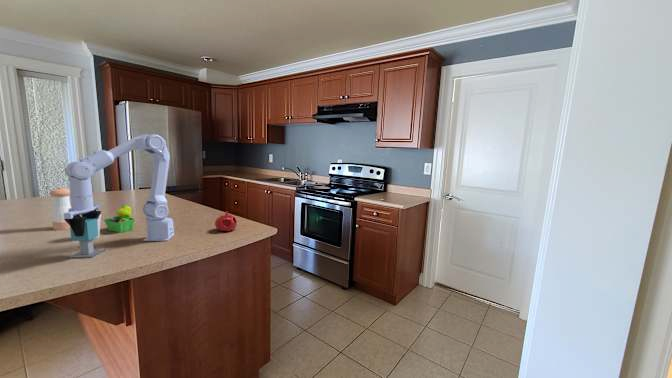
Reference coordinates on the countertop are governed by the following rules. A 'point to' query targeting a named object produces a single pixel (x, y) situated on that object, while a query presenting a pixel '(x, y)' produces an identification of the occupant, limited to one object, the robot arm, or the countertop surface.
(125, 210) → the fruit basket
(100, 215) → the smoothie
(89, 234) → the teal foam brick
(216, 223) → the pomegranate
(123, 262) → the countertop surface
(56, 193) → the salt shaker
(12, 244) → the countertop surface
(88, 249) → the grey square base plate
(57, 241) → the countertop surface
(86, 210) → the robot arm
